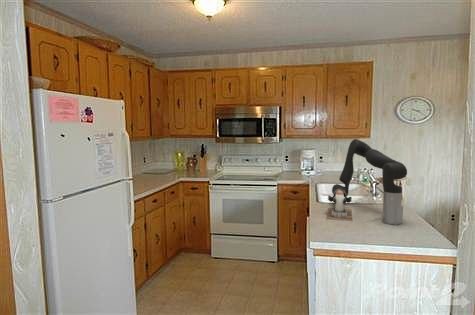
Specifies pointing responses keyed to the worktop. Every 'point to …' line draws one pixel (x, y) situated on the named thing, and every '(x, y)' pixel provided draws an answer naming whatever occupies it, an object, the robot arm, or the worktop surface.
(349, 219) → the jig board
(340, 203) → the cylinder
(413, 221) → the worktop surface
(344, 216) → the socket collar
